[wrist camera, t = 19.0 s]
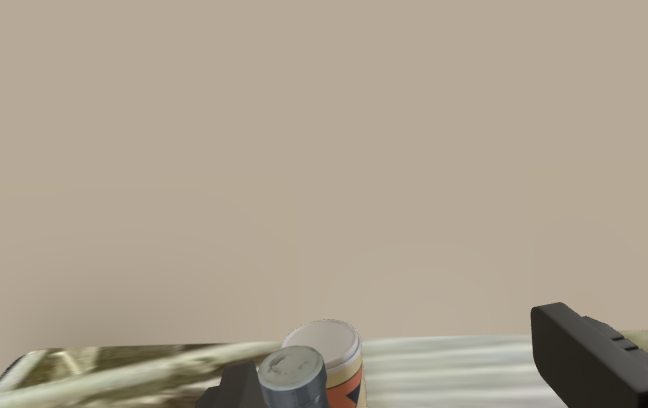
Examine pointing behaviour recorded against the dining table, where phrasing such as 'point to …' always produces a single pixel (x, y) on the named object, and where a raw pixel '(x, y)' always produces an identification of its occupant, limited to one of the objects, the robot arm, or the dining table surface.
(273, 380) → the sauce bottle
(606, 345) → the robot arm
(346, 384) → the coffee cup
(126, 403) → the dining table surface
